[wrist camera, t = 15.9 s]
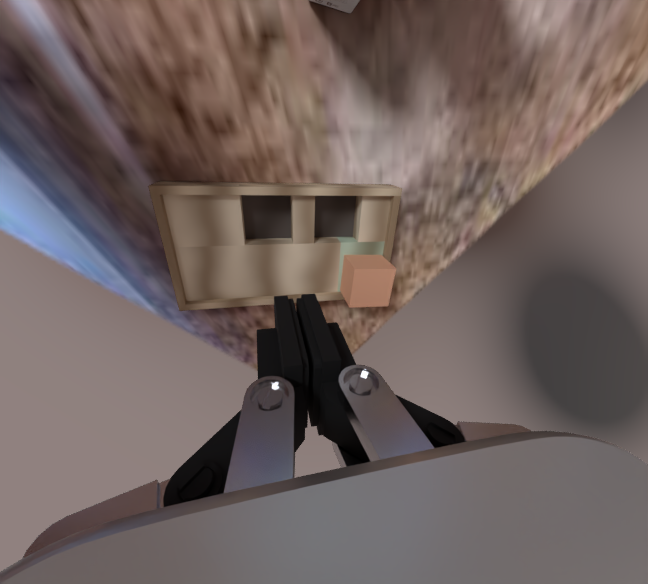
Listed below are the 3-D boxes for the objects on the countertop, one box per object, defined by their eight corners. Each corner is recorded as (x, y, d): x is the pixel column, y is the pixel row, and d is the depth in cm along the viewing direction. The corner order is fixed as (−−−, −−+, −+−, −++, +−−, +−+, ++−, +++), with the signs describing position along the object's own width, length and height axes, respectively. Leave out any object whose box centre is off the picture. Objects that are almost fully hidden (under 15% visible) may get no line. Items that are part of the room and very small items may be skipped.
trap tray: (185, 297, 36) (179, 310, 33) (159, 181, 29) (148, 185, 26) (375, 285, 41) (384, 296, 38) (390, 184, 34) (402, 188, 31)
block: (339, 290, 37) (349, 307, 33) (344, 254, 34) (354, 269, 31) (375, 289, 38) (388, 306, 34) (381, 254, 35) (396, 268, 32)
